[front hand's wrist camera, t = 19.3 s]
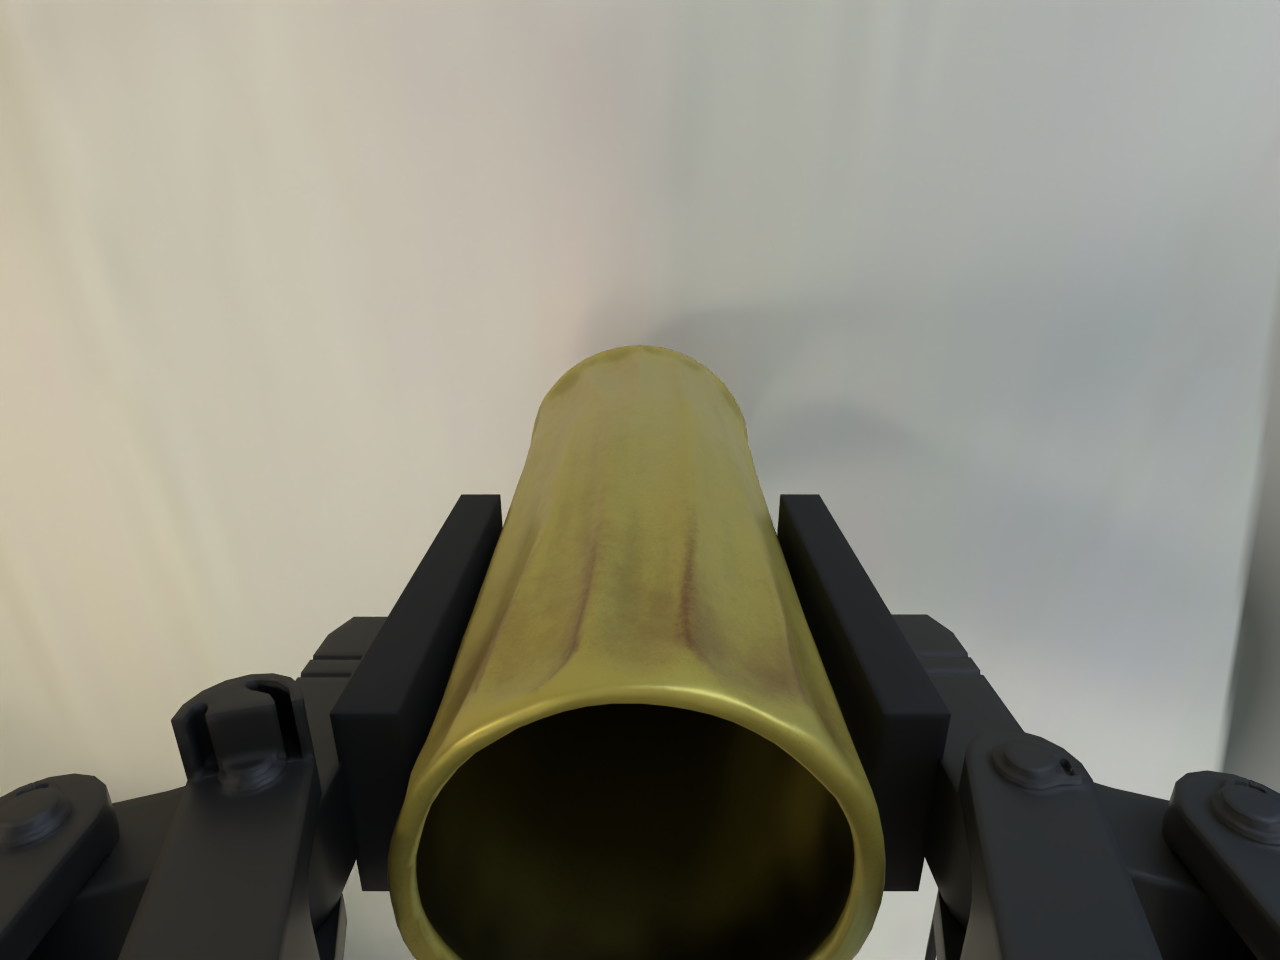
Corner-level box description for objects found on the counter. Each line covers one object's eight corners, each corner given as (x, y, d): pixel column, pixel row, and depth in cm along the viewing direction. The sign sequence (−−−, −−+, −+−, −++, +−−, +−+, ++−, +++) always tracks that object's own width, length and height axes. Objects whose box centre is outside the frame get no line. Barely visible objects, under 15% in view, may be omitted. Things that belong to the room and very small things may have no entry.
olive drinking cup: (536, 547, 22) (375, 1085, 9) (526, 342, 20) (289, 639, 6) (740, 548, 22) (894, 1087, 9) (752, 343, 20) (983, 642, 6)
